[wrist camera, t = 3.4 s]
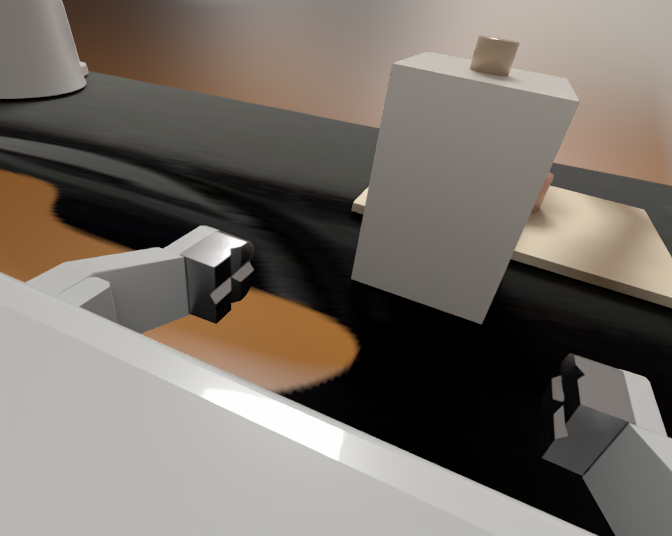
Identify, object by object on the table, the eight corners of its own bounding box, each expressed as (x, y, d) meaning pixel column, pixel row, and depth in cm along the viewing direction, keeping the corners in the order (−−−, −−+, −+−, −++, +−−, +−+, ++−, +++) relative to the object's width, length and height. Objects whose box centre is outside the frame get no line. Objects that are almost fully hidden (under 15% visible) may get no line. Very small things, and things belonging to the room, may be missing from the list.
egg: (487, 203, 30) (499, 170, 29) (491, 187, 33) (503, 156, 32) (539, 217, 29) (554, 184, 28) (538, 199, 32) (552, 169, 31)
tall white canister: (351, 278, 21) (399, 26, 15) (387, 227, 26) (434, 23, 20) (481, 324, 20) (596, 62, 13) (492, 259, 25) (579, 49, 19)
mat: (351, 210, 28) (353, 202, 27) (404, 155, 39) (405, 148, 38) (692, 314, 23) (699, 305, 22) (640, 216, 34) (644, 209, 33)
